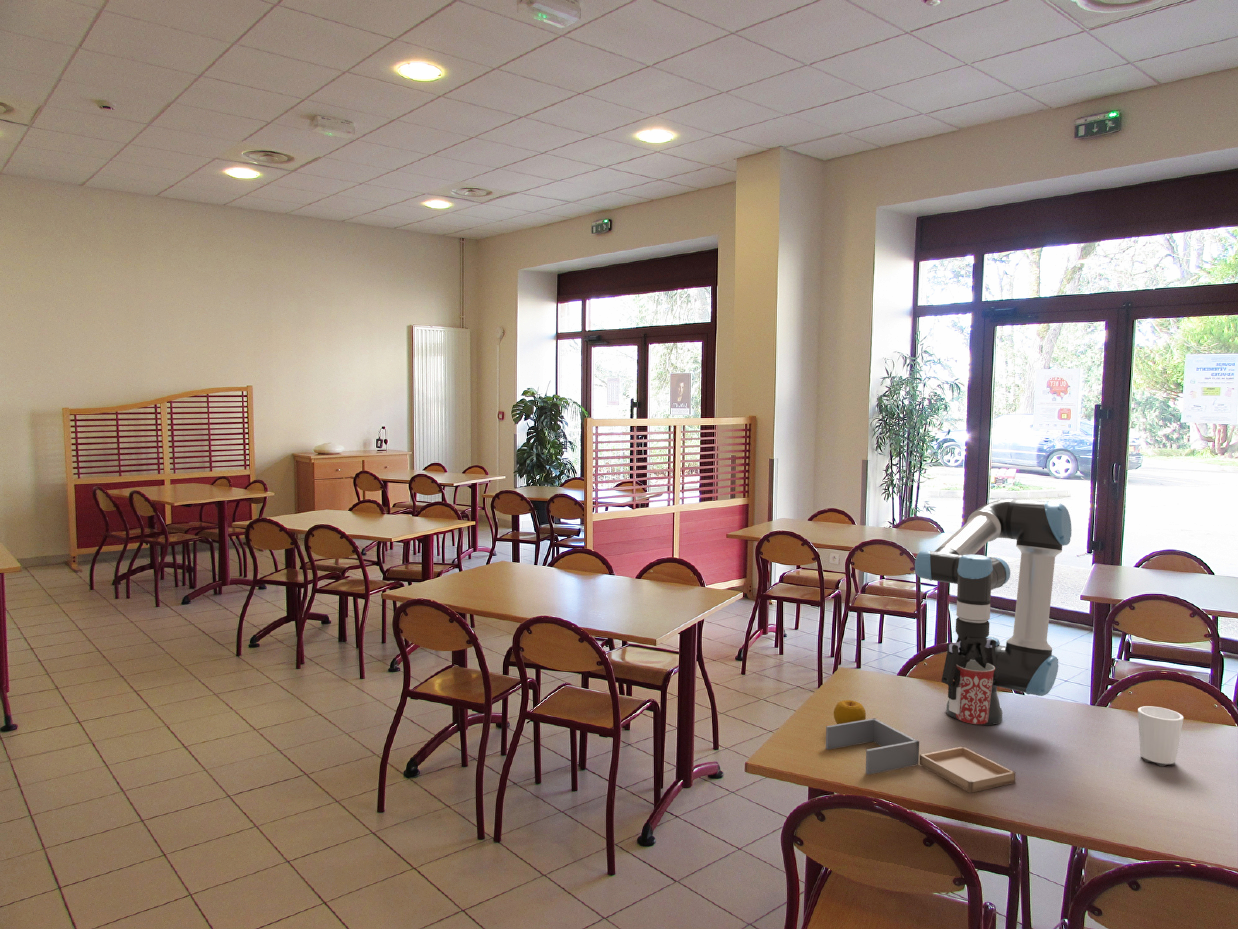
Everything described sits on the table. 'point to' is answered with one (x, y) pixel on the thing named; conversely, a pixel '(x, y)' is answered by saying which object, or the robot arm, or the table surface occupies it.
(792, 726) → the table surface
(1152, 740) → the cup
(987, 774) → the tray
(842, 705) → the apple
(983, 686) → the mug
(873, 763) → the bay
